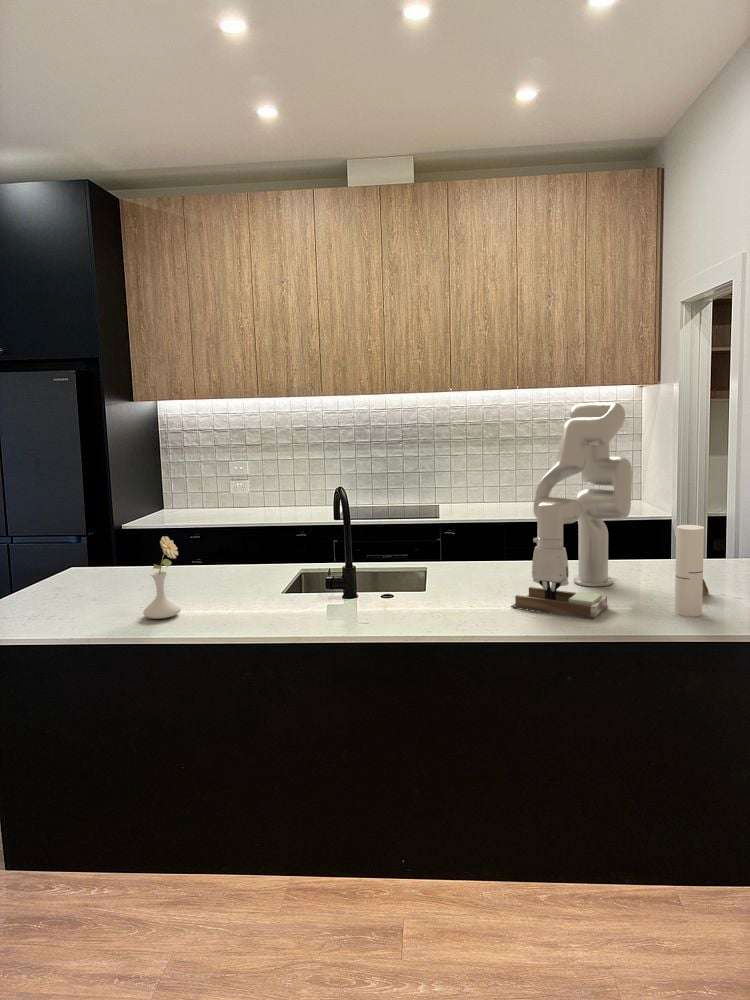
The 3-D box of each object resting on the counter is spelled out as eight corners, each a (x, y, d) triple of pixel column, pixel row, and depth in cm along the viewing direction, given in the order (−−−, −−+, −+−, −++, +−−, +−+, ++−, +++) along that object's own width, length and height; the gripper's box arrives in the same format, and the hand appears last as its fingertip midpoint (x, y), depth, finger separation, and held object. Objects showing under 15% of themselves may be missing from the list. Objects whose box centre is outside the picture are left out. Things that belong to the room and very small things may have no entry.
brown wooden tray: (528, 596, 228) (527, 585, 227) (607, 607, 214) (608, 595, 213) (511, 607, 217) (510, 596, 217) (593, 619, 203) (594, 607, 203)
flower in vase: (161, 624, 217) (153, 543, 213) (135, 619, 223) (128, 540, 219) (193, 611, 228) (186, 534, 224) (168, 607, 234) (161, 532, 230)
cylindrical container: (704, 616, 202) (706, 529, 198) (677, 616, 203) (679, 529, 200) (698, 608, 209) (700, 524, 205) (672, 608, 210) (674, 524, 206)
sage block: (578, 603, 216) (578, 591, 216) (601, 606, 212) (601, 594, 212) (568, 610, 210) (568, 598, 209) (592, 614, 206) (592, 602, 205)
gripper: (521, 543, 215) (522, 602, 218) (570, 547, 207) (570, 609, 210) (531, 538, 221) (532, 596, 224) (579, 542, 213) (579, 602, 216)
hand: (550, 602), depth 217 cm, fingers closed
